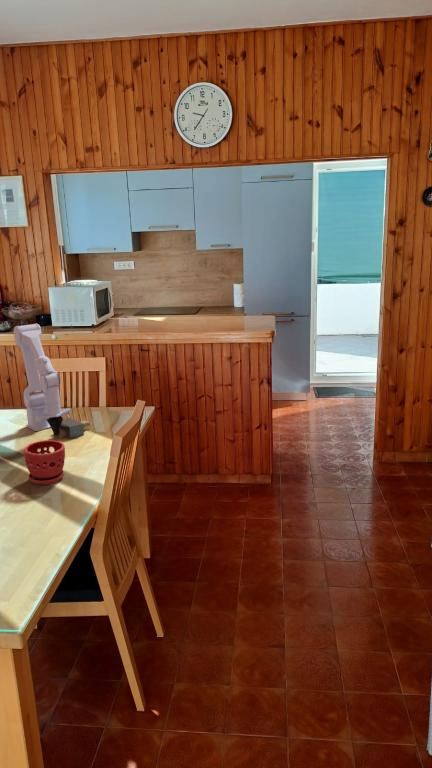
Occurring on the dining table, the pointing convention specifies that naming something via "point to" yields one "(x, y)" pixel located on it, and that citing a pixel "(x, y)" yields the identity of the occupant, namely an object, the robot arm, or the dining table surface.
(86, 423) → the capped rod
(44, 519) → the dining table surface
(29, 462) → the plant pot
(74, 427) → the sleeve housing
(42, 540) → the dining table surface
